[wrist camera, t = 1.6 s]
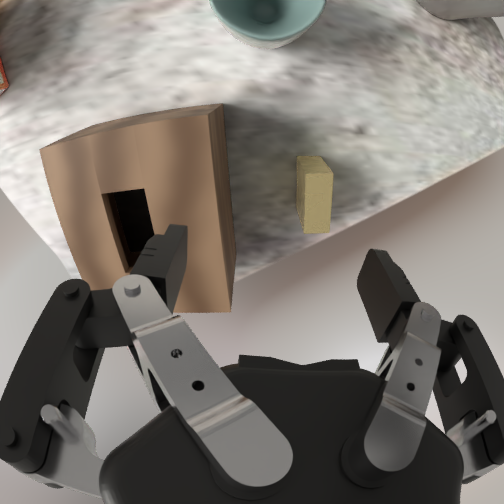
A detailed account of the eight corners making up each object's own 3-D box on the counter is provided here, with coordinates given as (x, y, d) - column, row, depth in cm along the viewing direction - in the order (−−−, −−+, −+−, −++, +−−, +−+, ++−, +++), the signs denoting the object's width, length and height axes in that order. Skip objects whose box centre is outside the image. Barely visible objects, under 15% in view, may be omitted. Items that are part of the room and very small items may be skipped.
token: (319, 156, 30) (333, 173, 24) (317, 206, 33) (329, 232, 28) (296, 156, 30) (305, 173, 25) (296, 207, 33) (303, 233, 28)
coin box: (222, 103, 27) (207, 114, 18) (236, 254, 36) (230, 312, 28) (92, 125, 27) (39, 149, 19) (125, 258, 37) (96, 310, 29)
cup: (319, 19, 21) (349, -5, 13) (266, 68, 24) (272, 61, 16) (260, -26, 18) (262, -67, 10) (207, 22, 22) (184, -2, 13)
